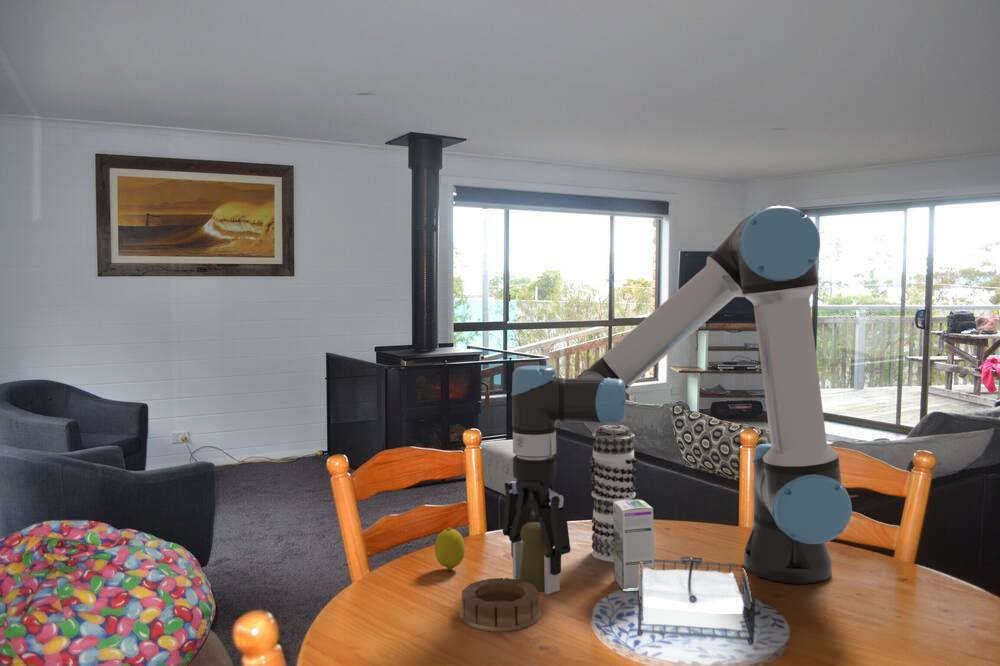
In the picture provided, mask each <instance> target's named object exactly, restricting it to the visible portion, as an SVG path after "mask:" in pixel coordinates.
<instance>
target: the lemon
mask: <svg viewBox="0 0 1000 666" xmlns="http://www.w3.org/2000/svg"><path fill="white" fill-rule="evenodd" d="M434 544H435V545H434V553H435V554H434V555H435V557H436V560H437V562H438V563H439V564H440V565H441V567H444V568H446V569H448V571H452V570H453V569H454V568H455V567H457V566H459V565H460V564H461V563H462V562H463V560H464V557H465V552H466V546H465V541H464V537H463V536H462V534H461V533H460V532H459V531H458V530H456V529H454V528H452V527H447V528H446V529H443V530H442V531H441V532H440V533H439V534H438V535H437V536H436V539H435V543H434Z"/></svg>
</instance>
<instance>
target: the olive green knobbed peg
mask: <svg viewBox="0 0 1000 666" xmlns="http://www.w3.org/2000/svg"><path fill="white" fill-rule="evenodd" d="M520 534H521V540H522V541H523V543H524V546H523V554H522V563H521V571H520V579H519V580H521V581H525V582H527V583H530V584H532V585H534V586H535V587H536V589H537V591H538V593H545V570H544V555H546V554H548V552H547V548H546V545H545V541H544V537H543V533H542V530H541V526H540V522H537V521H533V522H528V523H527V524H525V525H523V527H522V528H521V533H520Z"/></svg>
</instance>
